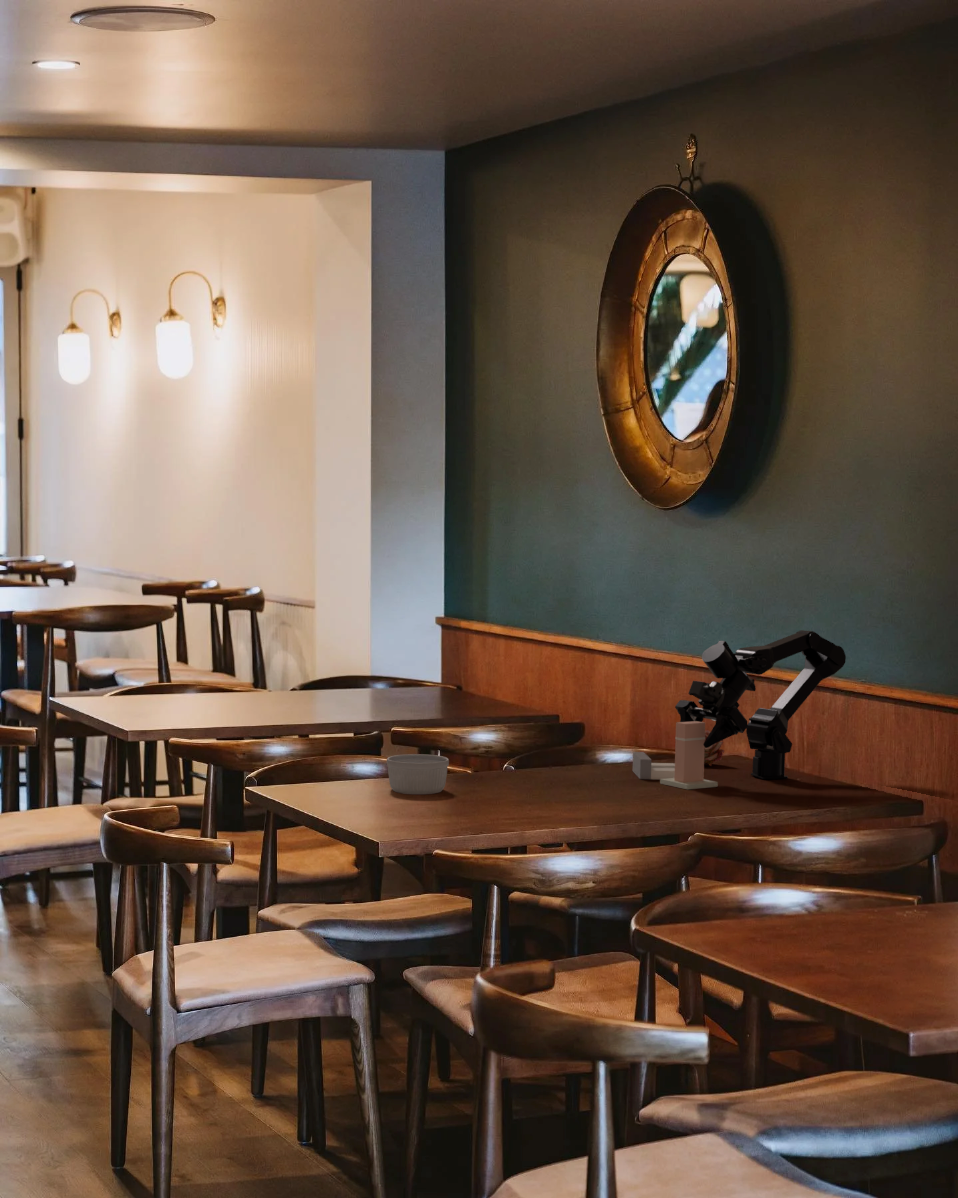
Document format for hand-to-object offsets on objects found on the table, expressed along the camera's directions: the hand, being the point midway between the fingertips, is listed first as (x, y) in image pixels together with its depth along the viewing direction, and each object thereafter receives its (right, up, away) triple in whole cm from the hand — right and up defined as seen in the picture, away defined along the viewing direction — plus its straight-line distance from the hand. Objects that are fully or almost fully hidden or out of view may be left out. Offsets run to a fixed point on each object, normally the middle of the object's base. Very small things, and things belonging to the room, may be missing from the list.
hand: (690, 743), depth 361 cm
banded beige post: (0, -8, 0) cm, 8 cm away
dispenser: (-5, -8, +14) cm, 17 cm away
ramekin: (-60, -9, -16) cm, 63 cm away
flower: (+8, -8, +33) cm, 34 cm away
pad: (0, -9, 0) cm, 9 cm away
